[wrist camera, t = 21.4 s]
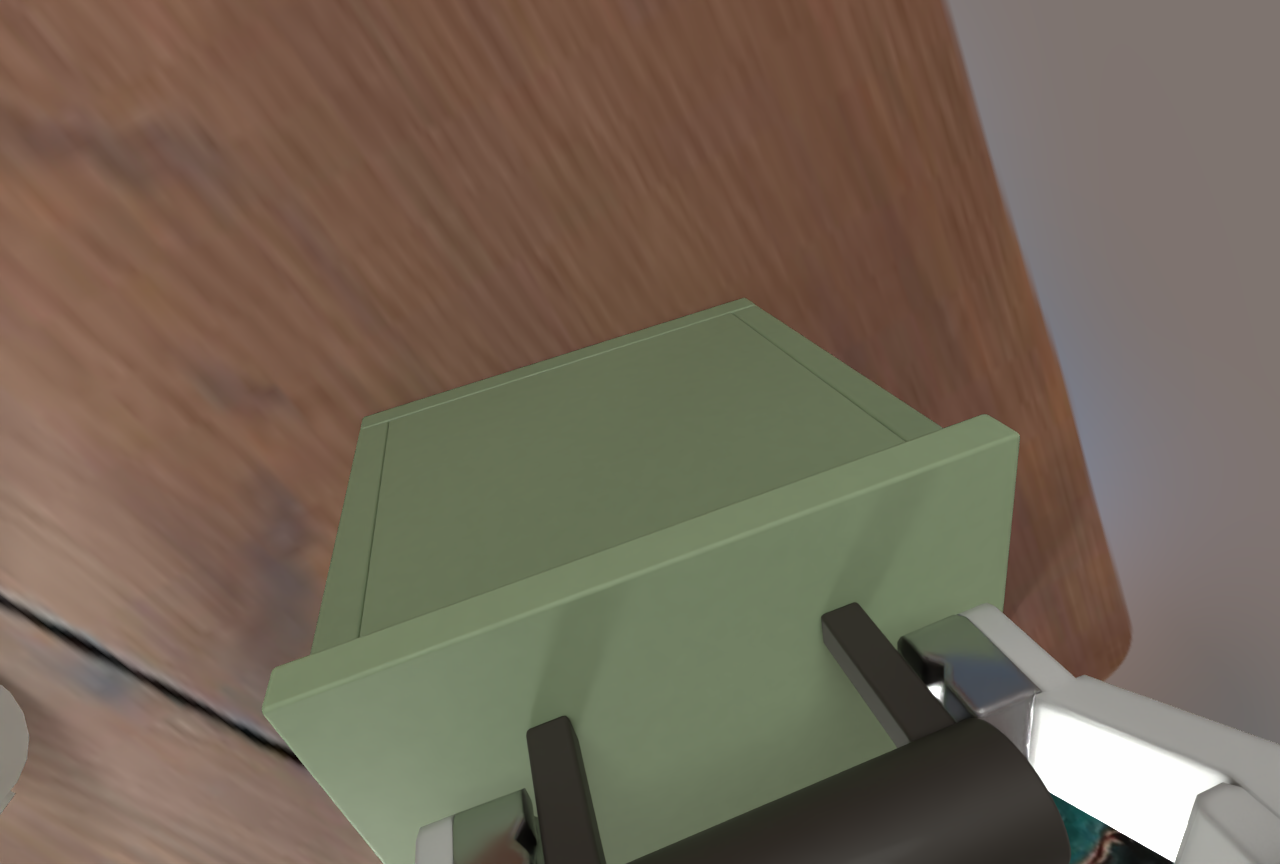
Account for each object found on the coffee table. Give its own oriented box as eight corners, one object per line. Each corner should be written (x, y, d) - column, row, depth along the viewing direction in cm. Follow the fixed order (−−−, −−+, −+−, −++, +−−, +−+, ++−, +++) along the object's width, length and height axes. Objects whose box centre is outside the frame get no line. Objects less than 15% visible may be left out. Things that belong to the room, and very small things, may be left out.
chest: (362, 416, 18) (300, 688, 10) (745, 296, 20) (971, 444, 12) (535, 768, 27) (582, 1079, 18) (797, 664, 28) (952, 907, 20)
